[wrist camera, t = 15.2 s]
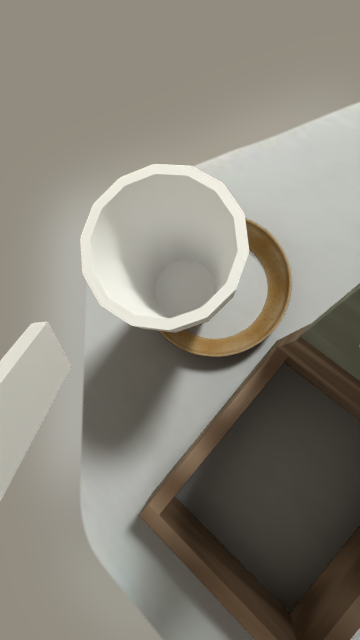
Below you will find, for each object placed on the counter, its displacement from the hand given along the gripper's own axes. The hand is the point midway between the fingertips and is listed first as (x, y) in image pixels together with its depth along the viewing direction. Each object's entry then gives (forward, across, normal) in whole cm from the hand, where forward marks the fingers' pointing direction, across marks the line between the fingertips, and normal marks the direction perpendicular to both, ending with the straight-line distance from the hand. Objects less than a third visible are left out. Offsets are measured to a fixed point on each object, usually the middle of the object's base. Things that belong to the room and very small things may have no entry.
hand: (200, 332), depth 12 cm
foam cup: (+16, -3, -7) cm, 17 cm away
